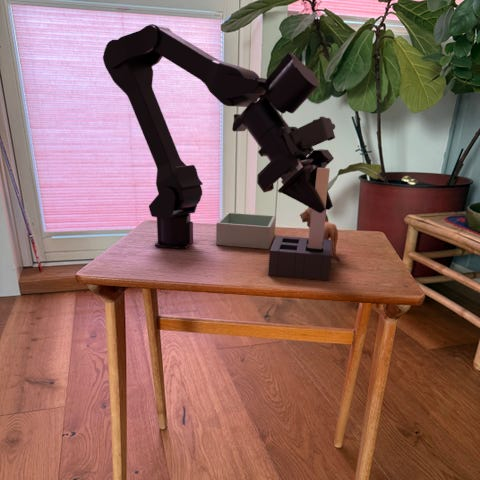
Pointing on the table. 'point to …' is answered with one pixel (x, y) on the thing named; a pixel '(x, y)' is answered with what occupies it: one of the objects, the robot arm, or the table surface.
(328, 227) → the lion figurine
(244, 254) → the table surface
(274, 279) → the table surface
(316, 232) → the pink rectangular bar
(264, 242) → the tub
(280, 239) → the caddy
